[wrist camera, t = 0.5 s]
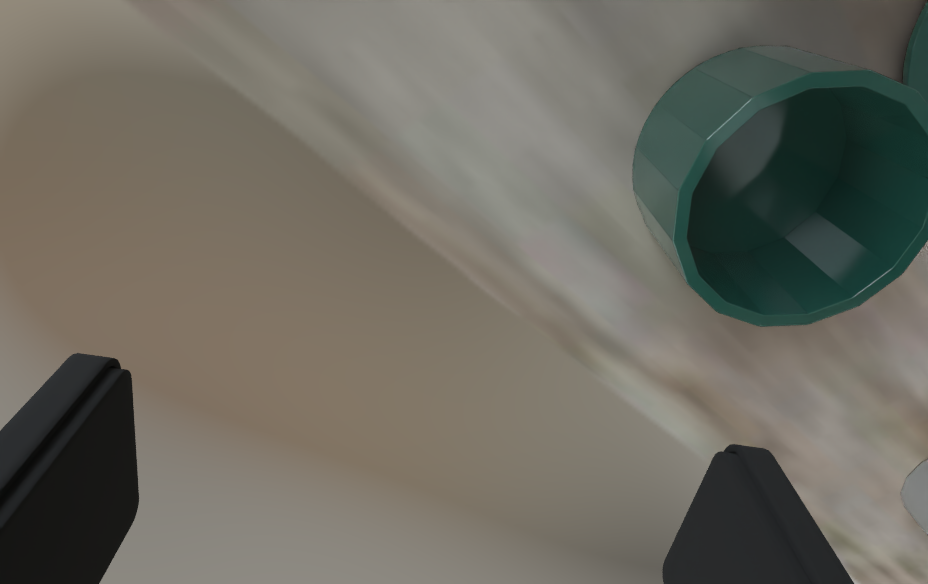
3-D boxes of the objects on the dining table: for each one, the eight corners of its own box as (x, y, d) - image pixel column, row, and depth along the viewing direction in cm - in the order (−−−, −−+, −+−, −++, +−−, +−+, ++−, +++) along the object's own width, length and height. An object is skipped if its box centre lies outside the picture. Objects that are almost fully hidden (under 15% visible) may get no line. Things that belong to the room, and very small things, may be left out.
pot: (602, 106, 42) (640, 146, 34) (831, 3, 39) (934, 18, 31) (667, 288, 48) (712, 360, 40) (868, 210, 46) (962, 269, 37)
